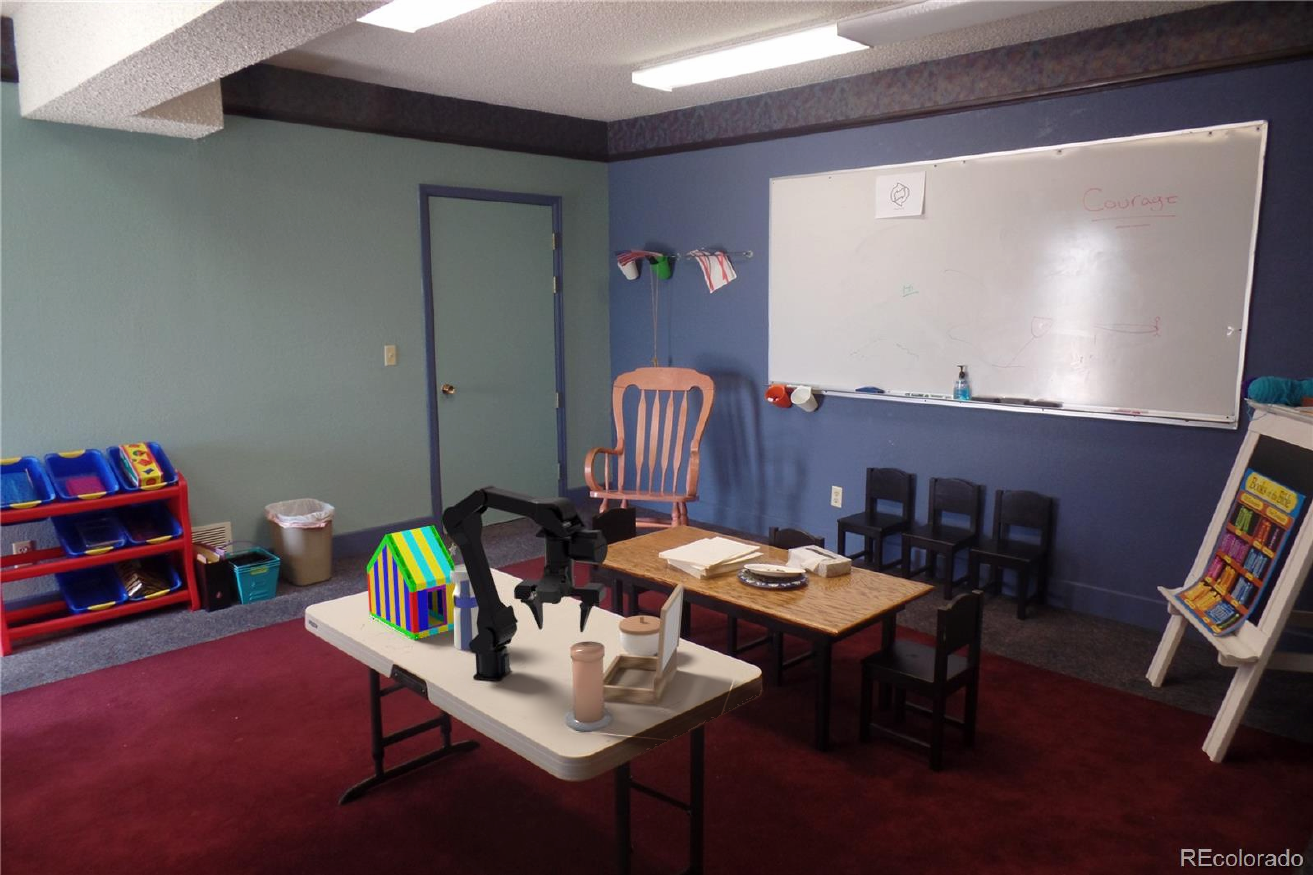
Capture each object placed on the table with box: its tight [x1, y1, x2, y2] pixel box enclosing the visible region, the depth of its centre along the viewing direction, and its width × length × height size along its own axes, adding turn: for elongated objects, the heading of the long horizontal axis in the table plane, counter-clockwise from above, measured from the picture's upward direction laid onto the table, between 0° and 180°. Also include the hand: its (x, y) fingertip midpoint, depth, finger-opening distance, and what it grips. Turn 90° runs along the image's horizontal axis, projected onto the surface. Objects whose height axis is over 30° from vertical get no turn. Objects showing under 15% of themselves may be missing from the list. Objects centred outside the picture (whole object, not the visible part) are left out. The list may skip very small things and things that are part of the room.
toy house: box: [366, 525, 456, 641], centre depth 228 cm, size 24×14×25 cm, turn 44°
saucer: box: [565, 708, 612, 733], centre depth 171 cm, size 9×9×1 cm
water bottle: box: [448, 543, 478, 651], centre depth 211 cm, size 8×9×25 cm
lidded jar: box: [618, 615, 660, 657], centre depth 204 cm, size 11×11×9 cm
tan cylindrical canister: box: [569, 640, 605, 723], centre depth 170 cm, size 7×7×14 cm
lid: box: [656, 582, 685, 678], centre depth 184 cm, size 2×18×14 cm, turn 167°
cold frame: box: [603, 647, 678, 705], centre depth 187 cm, size 14×18×6 cm
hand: (561, 630), depth 184 cm, fingers open, 9 cm apart
